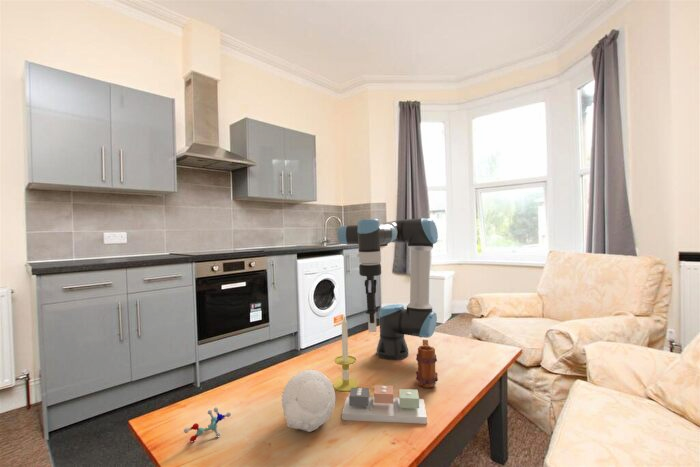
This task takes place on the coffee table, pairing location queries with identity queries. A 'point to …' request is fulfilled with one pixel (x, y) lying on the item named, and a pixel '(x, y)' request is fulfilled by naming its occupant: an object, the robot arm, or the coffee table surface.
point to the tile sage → (408, 398)
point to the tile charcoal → (359, 397)
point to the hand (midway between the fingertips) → (372, 331)
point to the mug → (426, 365)
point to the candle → (345, 364)
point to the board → (385, 412)
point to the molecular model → (210, 426)
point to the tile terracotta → (383, 394)
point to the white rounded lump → (308, 400)
